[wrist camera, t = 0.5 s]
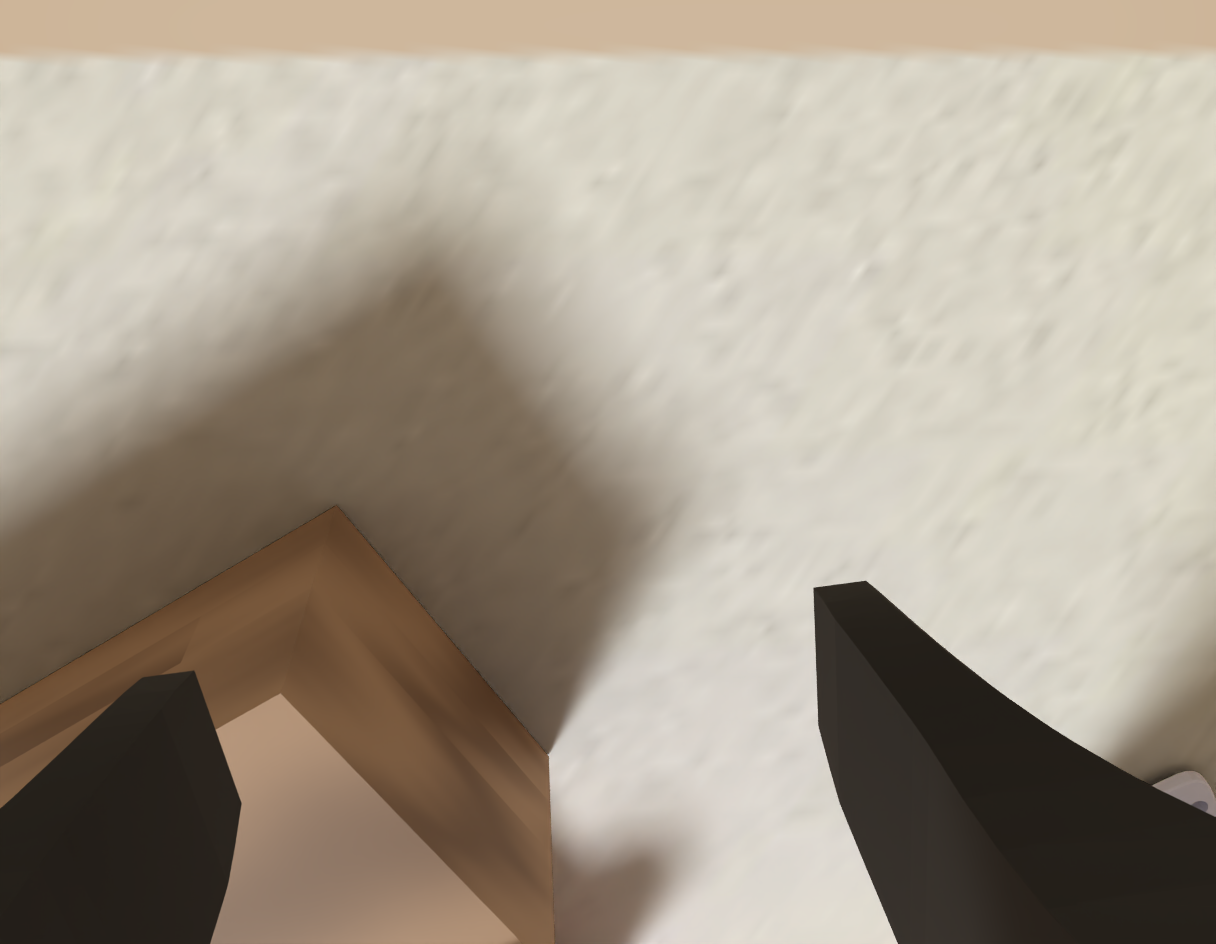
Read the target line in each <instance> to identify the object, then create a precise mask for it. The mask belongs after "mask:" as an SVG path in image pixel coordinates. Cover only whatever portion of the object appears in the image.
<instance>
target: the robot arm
mask: <svg viewBox="0 0 1216 944" xmlns="http://www.w3.org/2000/svg"><path fill="white" fill-rule="evenodd" d="M814 616H815V643H816V671H817V699H818V726H819V730H820V733H821V737H822V741H823V745H824V748H825V752H826V756H827V760H828V763H829V767H830V771H831V774H832V778H833V781H834V785H835V788H836V792H837V795H838V799H839V802H840V805H841V807H842V810H843V812H844V815H845V817H846V820H847V822H848V825H849V827H850V829H851V832H852V834H853V837H854V839H855V842H856V844H857V846H858V849H859V851H860V854H861V856H862V859H863V861H864V863H865V866H866V868H867V871H868V873H869V875H870V878H871V880H872V883H873V885H874V887H875V890H876V892H877V895H878V897H879V899H880V902H881V904H882V907H883V909H884V911H885V914H886V916H887V918H888V921H889V923H890V926H891V928H892V930H893V933H894V935H895V938H896V940H897V942H898V944H1216V798H1215V796H1214V793H1213V791H1212V789H1211V787H1210V785H1209V784H1208V783H1207V781H1206V780H1205V779H1204V777H1203V776H1202V775H1201V774H1200V773H1198V772H1195V771H1184V772H1181V773H1177V774H1175V775H1173V776H1171V777H1169V778H1166V779H1164V780H1162V781H1160V782H1158V783H1156V784H1153V785H1149V784H1147V783H1145V782H1144V781H1142V780H1140V779H1138V778H1136V777H1134V776H1132V775H1130V774H1128V773H1127V772H1125V771H1123V770H1121V769H1119V768H1118V767H1116V766H1114V765H1113V764H1111V763H1109V762H1107V761H1106V760H1104V759H1102V758H1101V757H1099V756H1097V755H1095V754H1094V753H1092V752H1090V751H1089V750H1087V749H1085V748H1083V747H1082V746H1080V745H1078V744H1077V743H1075V742H1073V741H1071V740H1070V739H1068V738H1067V737H1065V736H1064V735H1062V734H1060V733H1059V732H1057V731H1056V730H1054V729H1052V728H1051V727H1049V726H1048V725H1046V724H1045V723H1043V722H1042V721H1040V720H1039V719H1038V718H1036V717H1035V716H1033V715H1032V714H1030V713H1029V712H1027V711H1026V710H1025V709H1023V708H1022V707H1020V706H1019V705H1017V704H1016V703H1014V702H1013V701H1012V700H1010V699H1009V698H1007V697H1006V696H1005V695H1003V694H1002V693H1001V692H999V691H998V690H997V689H995V688H994V687H992V686H991V685H990V684H989V683H987V682H986V681H985V680H984V679H982V678H981V677H980V676H978V675H977V674H976V673H975V672H973V671H972V670H971V669H970V668H968V667H967V666H966V665H965V664H963V663H962V662H961V661H959V660H958V659H957V658H956V657H954V656H953V655H952V654H951V653H950V652H948V651H947V650H946V649H945V648H943V647H942V646H941V645H940V644H939V643H937V642H936V641H935V640H934V639H933V638H932V637H930V636H929V635H928V634H927V633H926V632H925V631H923V630H922V629H921V628H920V627H919V626H918V625H916V624H915V623H914V622H913V621H912V620H911V619H910V618H908V617H907V616H906V615H905V614H904V613H903V612H902V611H900V610H899V609H898V608H897V607H896V606H895V605H894V604H893V603H891V602H890V601H889V600H888V599H887V598H886V597H885V596H884V595H882V594H881V593H880V592H879V591H878V590H877V589H875V588H874V587H873V586H872V585H870V584H869V583H868V582H867V581H861V582H853V583H846V584H838V585H831V586H823V587H816V588H814ZM1194 802H1195V803H1194ZM241 805H242V803H241V800H240V797H239V794H238V791H237V789H236V786H235V783H234V780H233V777H232V775H231V772H230V769H229V766H228V763H227V761H226V758H225V755H224V752H223V749H222V746H221V744H220V741H219V738H218V735H217V732H216V730H215V727H214V724H213V721H212V718H211V716H210V713H209V710H208V707H207V704H206V702H205V699H204V696H203V693H202V690H201V687H200V685H199V682H198V679H197V676H196V673H195V671H194V670H193V671H186V672H178V673H171V674H163V675H156V676H148V677H142V678H141V679H140V680H138V681H137V682H136V683H135V684H134V685H132V686H131V687H130V688H129V689H128V690H126V691H125V692H124V693H123V694H122V695H121V696H120V697H119V698H118V699H117V700H115V701H114V702H113V703H112V704H111V705H110V706H109V707H108V708H107V709H106V710H105V711H104V712H103V713H101V714H100V715H99V716H98V717H97V718H96V719H95V720H94V721H93V722H92V723H91V724H90V725H89V726H88V727H87V728H86V729H85V730H84V731H83V732H81V733H80V734H79V735H78V736H77V737H76V738H75V739H74V740H73V741H72V742H71V743H70V744H69V745H68V746H67V747H66V748H65V749H64V750H63V751H62V752H60V753H59V754H58V755H57V756H56V757H55V758H54V759H53V760H52V761H51V762H50V763H49V764H48V765H47V766H46V767H45V768H43V769H42V770H41V771H40V772H39V773H38V774H37V775H36V776H35V777H34V778H33V779H32V780H31V781H30V782H29V783H27V784H26V785H25V786H24V787H23V788H22V789H21V790H20V791H19V792H18V793H17V794H16V795H15V796H14V797H13V798H11V799H10V800H9V801H8V802H7V803H6V804H5V805H4V806H2V807H1V808H0V944H210V943H211V940H212V936H213V933H214V930H215V927H216V923H217V920H218V917H219V914H220V910H221V907H222V904H223V900H224V897H225V894H226V890H227V887H228V883H229V877H230V872H231V866H232V861H233V856H234V850H235V844H236V838H237V831H238V824H239V818H240V811H241Z"/></svg>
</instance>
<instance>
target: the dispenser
mask: <svg viewBox="0 0 1216 944" xmlns="http://www.w3.org/2000/svg"><path fill="white" fill-rule="evenodd" d="M193 670H194V671H195V673H196V676H197V679H198V682H199V685H200V687H201V690H202V693H203V696H204V699H205V702H206V704H207V707H208V710H209V713H210V716H211V718H212V721H213V724H214V727H215V730H216V732H217V735H218V738H219V741H220V744H221V746H222V749H223V752H224V755H225V758H226V761H227V763H228V766H229V769H230V772H231V775H232V777H233V780H234V783H235V786H236V789H237V791H238V794H239V797H240V800H241V803H242V805H241V811H240V818H239V824H238V831H237V838H236V844H235V850H234V856H233V861H232V866H231V872H230V877H229V883H228V887H227V890H226V894H225V897H224V900H223V904H222V907H221V910H220V914H219V917H218V920H217V923H216V927H215V930H214V933H213V936H212V940H211V943H210V944H555V934H554V904H553V874H552V843H551V813H550V782H549V756H548V755H547V754H546V753H545V751H544V750H543V749H542V748H541V747H540V746H539V744H538V743H537V742H536V741H535V740H534V738H533V737H532V736H531V735H530V734H529V733H528V731H527V730H526V729H525V728H524V727H523V725H522V724H521V723H520V722H519V721H518V719H517V718H516V717H515V716H514V715H513V714H512V712H511V711H510V710H509V709H508V708H507V706H506V705H505V704H504V703H503V702H502V701H501V699H500V698H499V697H498V696H497V695H496V693H495V692H494V691H493V690H492V689H491V688H490V686H489V685H488V684H487V683H486V682H485V680H484V679H483V678H482V677H481V676H480V674H479V673H478V672H477V671H476V670H475V669H474V667H473V666H472V665H471V664H470V663H469V661H468V660H467V659H466V658H465V657H464V656H463V654H462V653H461V652H460V651H459V650H458V648H457V647H456V646H455V645H454V644H453V643H452V641H451V640H450V639H449V638H448V637H447V635H446V634H445V633H444V632H443V631H442V629H441V628H440V627H439V626H438V625H437V624H436V622H435V621H434V620H433V619H432V618H431V616H430V615H429V614H428V613H427V612H426V611H425V609H424V608H423V607H422V606H421V605H420V603H419V602H418V601H417V600H416V599H415V597H414V596H413V595H412V594H411V593H410V592H409V590H408V589H407V588H406V587H405V586H404V584H403V583H402V582H401V581H400V580H399V579H398V577H397V576H396V575H395V574H394V573H393V571H392V570H391V569H390V568H389V567H388V566H387V564H386V563H385V562H384V561H383V560H382V558H381V557H380V556H379V555H378V554H377V552H376V551H375V550H374V549H373V548H372V547H371V545H370V544H369V543H368V542H367V541H366V539H365V538H364V537H363V536H362V535H361V534H360V532H359V531H358V530H357V529H356V528H355V526H354V525H353V524H352V523H351V522H350V521H349V519H348V518H347V517H346V516H345V515H344V513H343V512H342V511H341V510H340V509H339V507H338V506H337V505H336V506H334V507H333V508H331V509H329V510H328V511H326V512H324V513H323V514H321V515H319V516H318V517H316V518H314V519H312V520H311V521H309V522H307V523H306V524H304V525H302V526H301V527H299V528H297V529H296V530H294V531H292V532H291V533H289V534H287V535H285V536H284V537H282V538H280V539H279V540H277V541H275V542H274V543H272V544H270V545H269V546H267V547H265V548H263V549H262V550H260V551H258V552H257V553H255V554H253V555H252V556H250V557H248V558H247V559H245V560H243V561H241V562H240V563H238V564H236V565H235V566H233V567H231V568H230V569H228V570H226V571H225V572H223V573H221V574H220V575H218V576H216V577H214V578H213V579H211V580H209V581H208V582H206V583H204V584H203V585H201V586H199V587H198V588H196V589H194V590H192V591H191V592H189V593H187V594H186V595H184V596H182V597H181V598H179V599H177V600H176V601H174V602H172V603H171V604H169V605H167V606H165V607H164V608H162V609H160V610H159V611H157V612H155V613H154V614H152V615H150V616H149V617H147V618H145V619H143V620H142V621H140V622H138V623H137V624H135V625H133V626H132V627H130V628H128V629H127V630H125V631H123V632H121V633H120V634H118V635H116V636H115V637H113V638H111V639H110V640H108V641H106V642H105V643H103V644H101V645H100V646H98V647H96V648H94V649H93V650H91V651H89V652H88V653H86V654H84V655H83V656H81V657H79V658H78V659H76V660H74V661H72V662H71V663H69V664H67V665H66V666H64V667H62V668H61V669H59V670H57V671H56V672H54V673H52V674H50V675H49V676H47V677H45V678H44V679H42V680H40V681H39V682H37V683H35V684H34V685H32V686H30V687H29V688H27V689H25V690H23V691H22V692H20V693H18V694H17V695H15V696H13V697H12V698H10V699H8V700H7V701H5V702H3V703H1V704H0V808H1V807H2V806H4V805H5V804H6V803H7V802H8V801H9V800H10V799H11V798H13V797H14V796H15V795H16V794H17V793H18V792H19V791H20V790H21V789H22V788H23V787H24V786H25V785H26V784H27V783H29V782H30V781H31V780H32V779H33V778H34V777H35V776H36V775H37V774H38V773H39V772H40V771H41V770H42V769H43V768H45V767H46V766H47V765H48V764H49V763H50V762H51V761H52V760H53V759H54V758H55V757H56V756H57V755H58V754H59V753H60V752H62V751H63V750H64V749H65V748H66V747H67V746H68V745H69V744H70V743H71V742H72V741H73V740H74V739H75V738H76V737H77V736H78V735H79V734H80V733H81V732H83V731H84V730H85V729H86V728H87V727H88V726H89V725H90V724H91V723H92V722H93V721H94V720H95V719H96V718H97V717H98V716H99V715H100V714H101V713H103V712H104V711H105V710H106V709H107V708H108V707H109V706H110V705H111V704H112V703H113V702H114V701H115V700H117V699H118V698H119V697H120V696H121V695H122V694H123V693H124V692H125V691H126V690H128V689H129V688H130V687H131V686H132V685H134V684H135V683H136V682H137V681H138V680H140V679H141V678H142V677H148V676H156V675H163V674H171V673H178V672H186V671H193Z"/></svg>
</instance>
